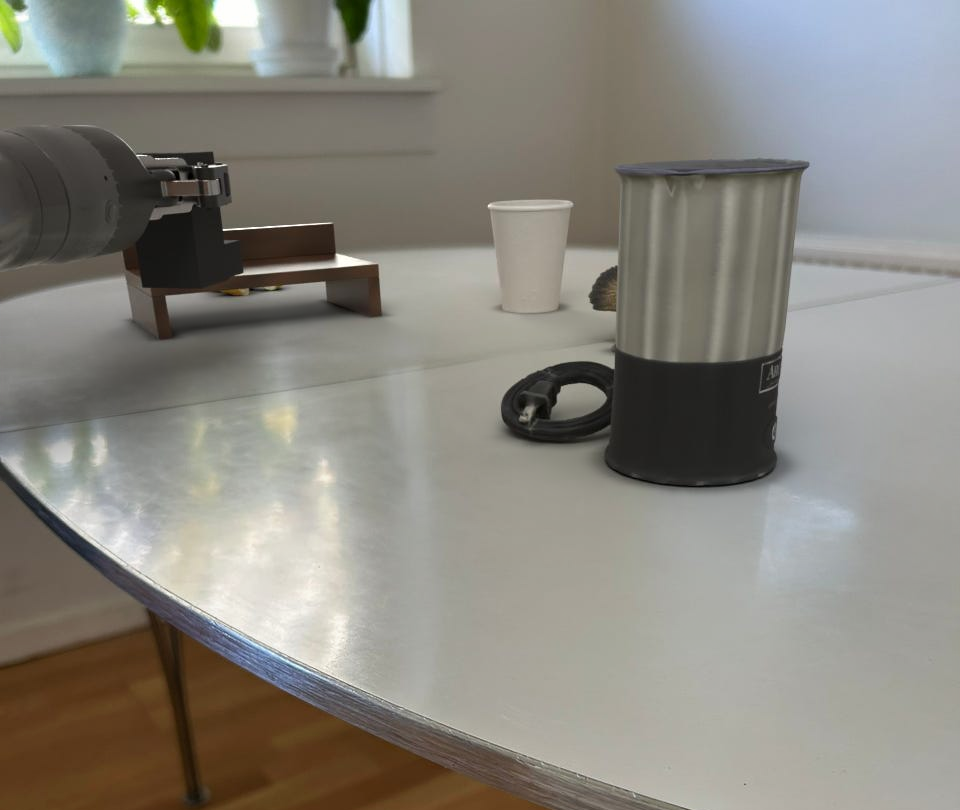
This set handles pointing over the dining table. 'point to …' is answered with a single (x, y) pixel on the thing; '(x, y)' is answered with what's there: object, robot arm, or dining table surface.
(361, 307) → the wooden bench
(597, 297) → the eagle figurine
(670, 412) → the milk frother
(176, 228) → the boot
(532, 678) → the dining table surface
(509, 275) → the dixie cup
